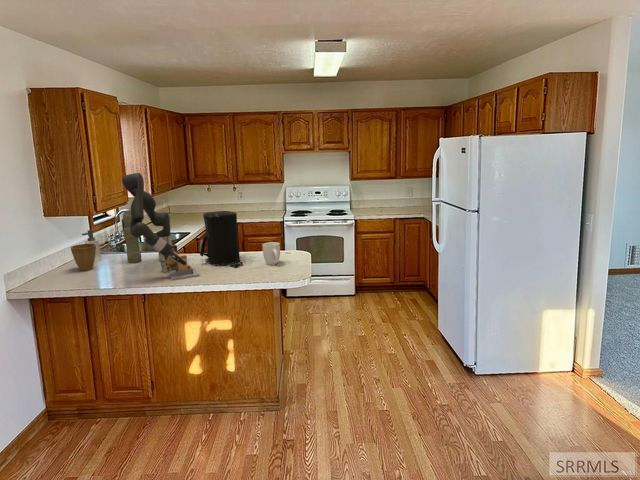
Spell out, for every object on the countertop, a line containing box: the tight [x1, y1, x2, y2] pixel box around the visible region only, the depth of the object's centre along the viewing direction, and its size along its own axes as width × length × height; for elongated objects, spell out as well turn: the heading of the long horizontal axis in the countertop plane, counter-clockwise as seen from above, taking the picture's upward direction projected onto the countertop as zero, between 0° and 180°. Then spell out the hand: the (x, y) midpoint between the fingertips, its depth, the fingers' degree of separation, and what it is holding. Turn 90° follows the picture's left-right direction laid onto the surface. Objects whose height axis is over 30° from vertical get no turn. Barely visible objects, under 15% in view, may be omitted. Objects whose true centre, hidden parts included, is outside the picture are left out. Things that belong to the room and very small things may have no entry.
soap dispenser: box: [81, 229, 102, 263], centre depth 328 cm, size 6×9×22 cm
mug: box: [262, 241, 281, 266], centre depth 300 cm, size 15×11×13 cm
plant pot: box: [70, 243, 96, 272], centre depth 308 cm, size 15×15×16 cm
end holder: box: [168, 264, 200, 281], centre depth 287 cm, size 18×16×4 cm
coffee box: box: [160, 244, 178, 274], centre depth 296 cm, size 9×6×16 cm
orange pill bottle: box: [177, 253, 188, 270], centre depth 286 cm, size 5×5×10 cm
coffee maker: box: [199, 210, 244, 268], centre depth 308 cm, size 23×32×34 cm
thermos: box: [121, 210, 142, 264], centre depth 320 cm, size 9×12×35 cm
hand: (184, 263), depth 286 cm, fingers closed on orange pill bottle, 5 cm apart
